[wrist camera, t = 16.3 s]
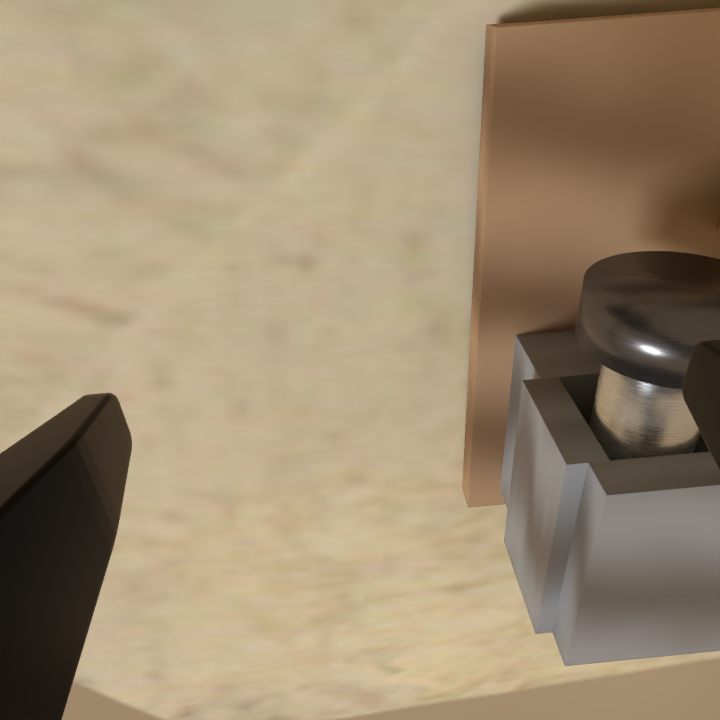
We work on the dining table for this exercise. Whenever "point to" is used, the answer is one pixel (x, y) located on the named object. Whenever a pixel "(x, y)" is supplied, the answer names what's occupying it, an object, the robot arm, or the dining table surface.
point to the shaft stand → (559, 314)
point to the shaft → (646, 346)
